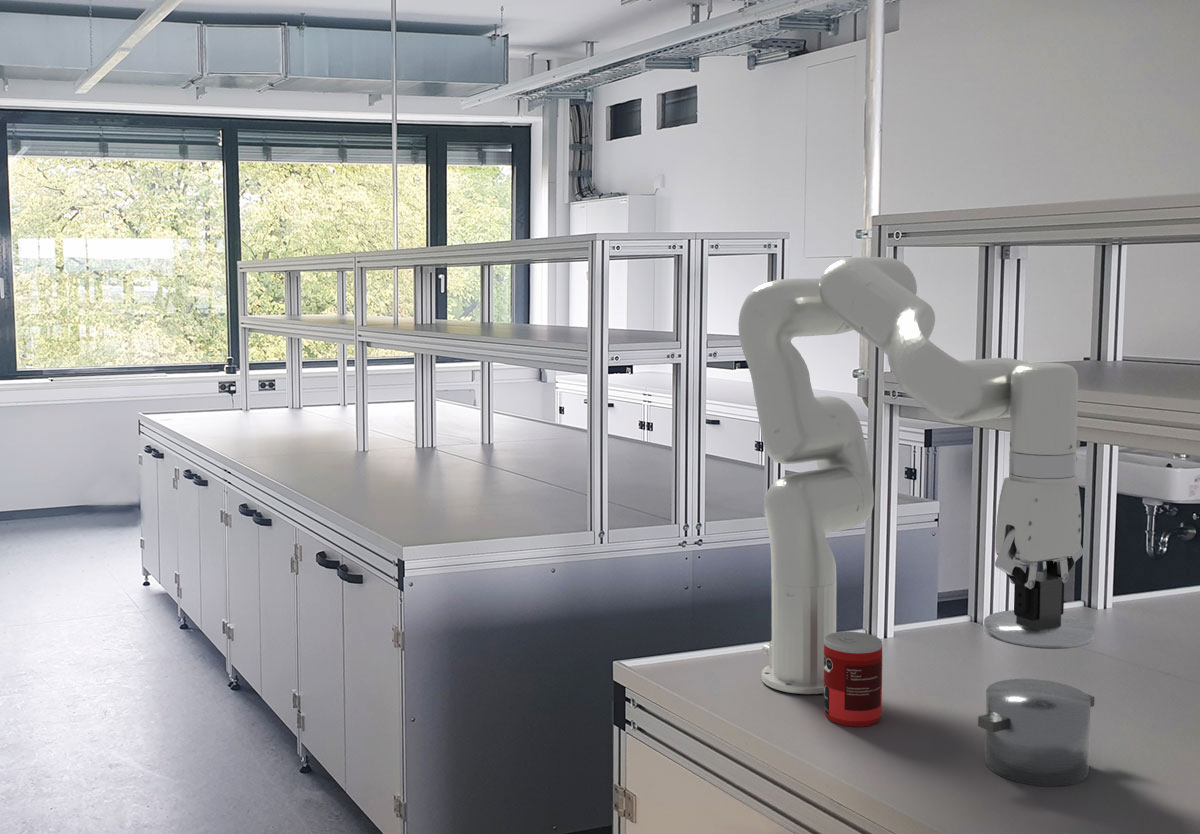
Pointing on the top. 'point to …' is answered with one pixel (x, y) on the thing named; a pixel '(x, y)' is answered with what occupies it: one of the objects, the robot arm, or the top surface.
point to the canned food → (853, 678)
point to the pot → (1037, 732)
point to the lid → (1041, 622)
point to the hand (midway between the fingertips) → (1038, 613)
